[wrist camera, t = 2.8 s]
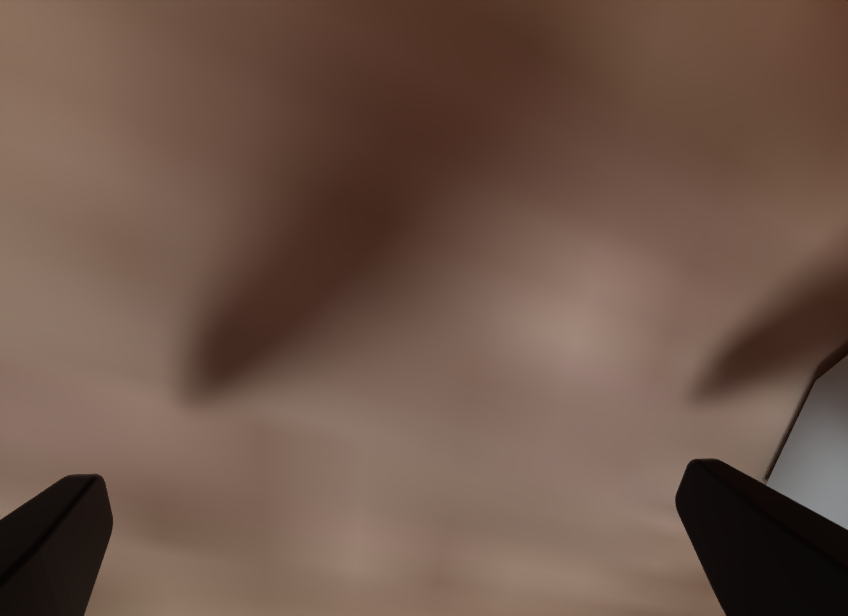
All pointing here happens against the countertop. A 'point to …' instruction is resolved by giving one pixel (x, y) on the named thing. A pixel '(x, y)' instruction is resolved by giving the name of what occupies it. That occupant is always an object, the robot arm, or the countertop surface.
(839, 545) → the robot arm
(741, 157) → the countertop surface
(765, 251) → the countertop surface
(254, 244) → the countertop surface
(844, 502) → the flask
